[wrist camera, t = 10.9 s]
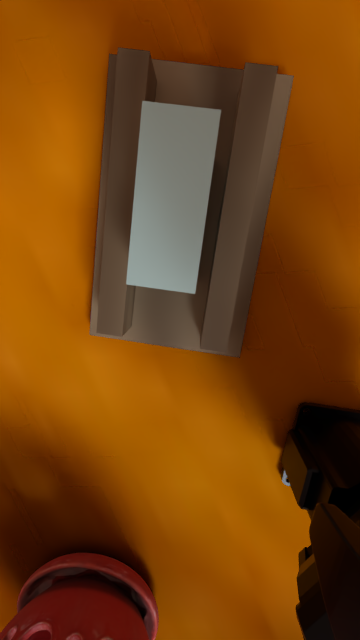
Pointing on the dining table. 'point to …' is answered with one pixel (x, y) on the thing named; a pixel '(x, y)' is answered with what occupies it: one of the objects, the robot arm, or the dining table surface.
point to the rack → (223, 205)
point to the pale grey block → (171, 195)
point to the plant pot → (84, 602)
